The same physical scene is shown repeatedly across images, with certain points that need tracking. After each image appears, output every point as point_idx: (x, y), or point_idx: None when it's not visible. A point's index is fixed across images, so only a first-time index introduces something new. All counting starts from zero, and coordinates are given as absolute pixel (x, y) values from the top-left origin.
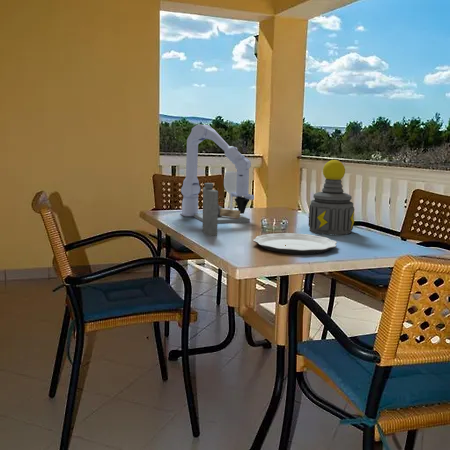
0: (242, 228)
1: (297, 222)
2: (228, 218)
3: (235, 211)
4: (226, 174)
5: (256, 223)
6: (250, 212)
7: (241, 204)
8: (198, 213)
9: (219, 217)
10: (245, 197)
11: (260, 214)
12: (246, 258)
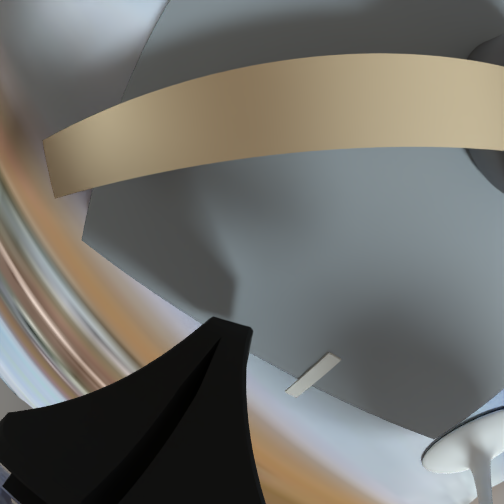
0: (11, 2)
1: (46, 379)
2: (238, 41)
3: (95, 119)
4: None
5: (51, 220)
6: (383, 498)
7: (92, 395)
8: None
9: (400, 15)
10: (14, 500)
11: (307, 491)
12: None
